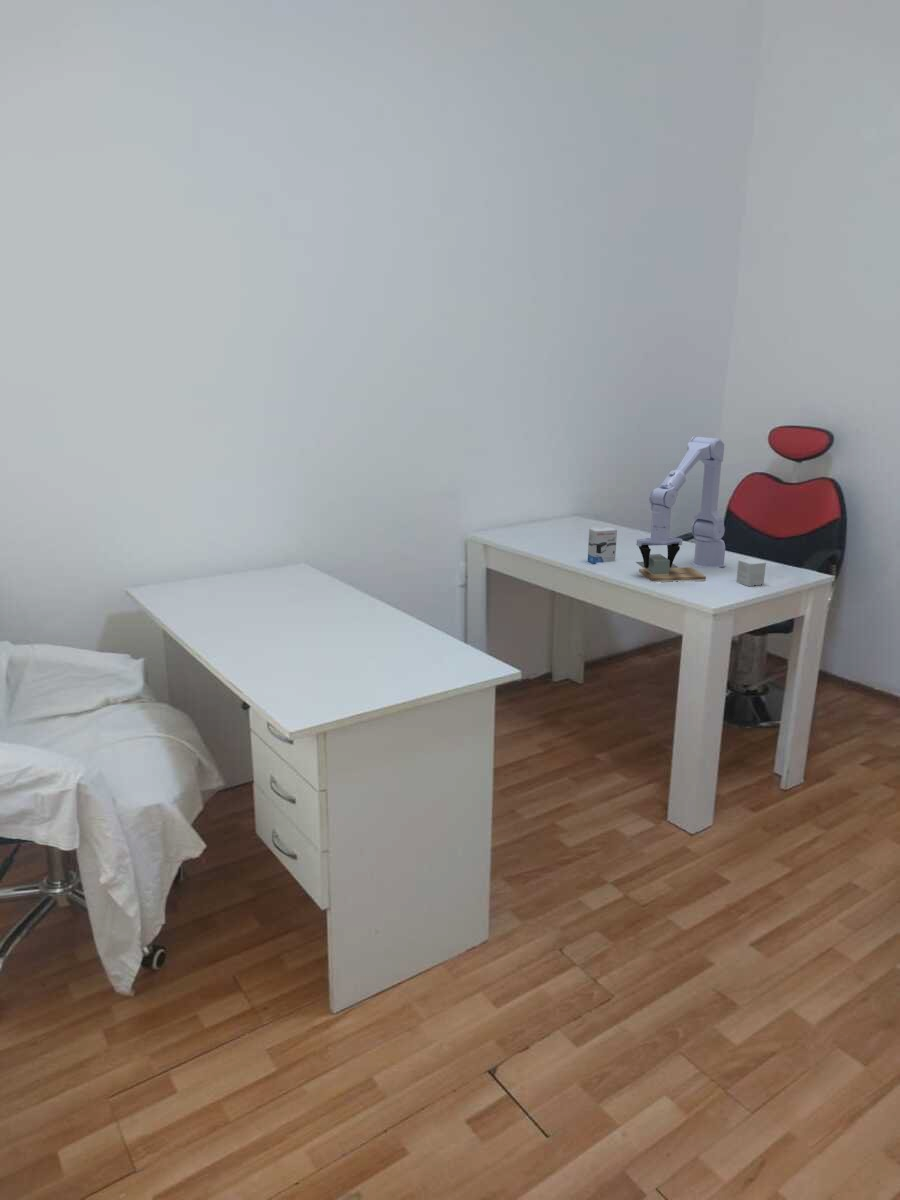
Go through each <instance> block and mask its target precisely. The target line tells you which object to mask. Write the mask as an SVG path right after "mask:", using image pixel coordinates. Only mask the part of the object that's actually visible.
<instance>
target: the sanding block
mask: <svg viewBox="0 0 900 1200" xmlns="http://www.w3.org/2000/svg"><path fill="white" fill-rule="evenodd" d="M669 567H670V560H668V559H667V557H666V556H664V555H662V553H661V554H660V553H653V554H652V553H650V555H649V567H648V568H643V569H645V570H646V571H647V572H649V573H650V574H651V575H653V576H669Z"/></svg>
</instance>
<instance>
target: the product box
mask: <svg viewBox="0 0 900 1200" xmlns="http://www.w3.org/2000/svg"><path fill="white" fill-rule="evenodd" d="M766 566H767V563H766V562H765V561H762V560H759V559H756V558H754V557H753V558H746V559H738V563H737V573H736V583H738V584H741V585H744V586H746V587H755V586H754V585H756V586H762V585H761V584H763V585H765V577H766V576H765V575H766V568H767V567H766Z"/></svg>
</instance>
